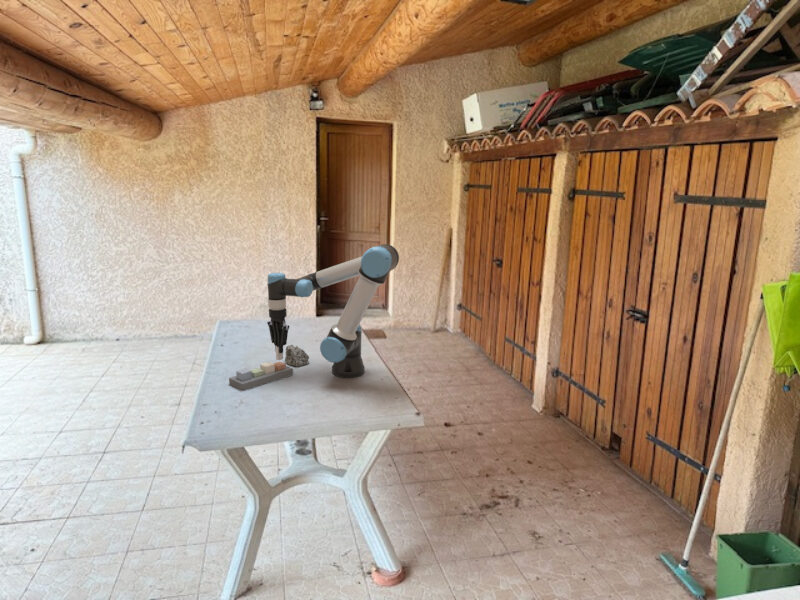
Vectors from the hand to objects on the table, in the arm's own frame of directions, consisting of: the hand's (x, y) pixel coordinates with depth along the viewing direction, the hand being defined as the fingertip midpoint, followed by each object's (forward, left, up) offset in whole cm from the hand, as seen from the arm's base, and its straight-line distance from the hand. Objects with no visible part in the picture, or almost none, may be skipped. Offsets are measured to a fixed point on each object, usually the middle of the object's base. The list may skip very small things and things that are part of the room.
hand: (279, 359), depth 230 cm
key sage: (+1, +12, -6) cm, 14 cm away
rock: (+7, -15, -8) cm, 18 cm away
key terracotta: (+1, 0, -6) cm, 6 cm away
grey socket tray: (+1, +9, -7) cm, 12 cm away
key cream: (+1, +6, -5) cm, 8 cm away
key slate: (+1, +18, -5) cm, 19 cm away
